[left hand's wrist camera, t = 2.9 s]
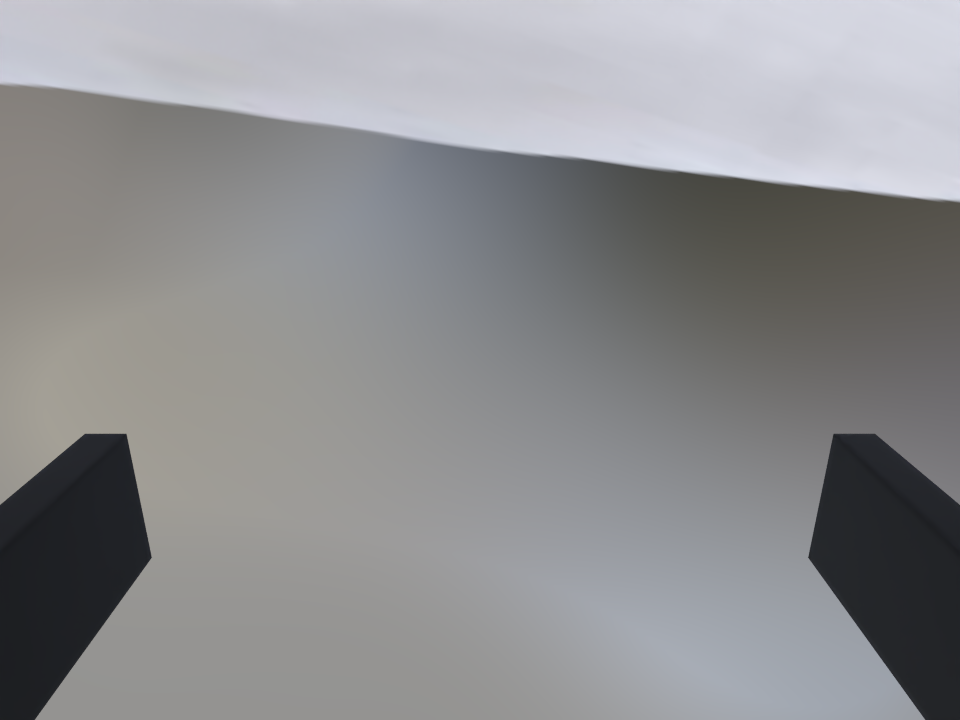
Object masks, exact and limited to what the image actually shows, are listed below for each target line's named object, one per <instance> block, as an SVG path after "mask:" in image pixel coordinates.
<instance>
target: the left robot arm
mask: <svg viewBox="0 0 960 720" xmlns="http://www.w3.org/2000/svg"><path fill="white" fill-rule="evenodd" d="M151 558H152V557H151V552H150V547H149V542H148V537H147V532H146V528H145V523H144V518H143V513H142V508H141V503H140V498H139V493H138V488H137V484H136V479H135V474H134V469H133V464H132V459H131V454H130V449H129V444H128V439H127V435H126V434H84V435H83V436H82V437H81V438H80V439H78V440H77V441H76V442H75V443H74V444H72V445H71V446H70V447H69V448H68V449H66V450H65V451H64V452H63V453H62V454H60V455H59V456H58V457H57V458H56V459H55V460H53V461H52V462H51V463H50V464H49V465H47V466H46V467H45V468H44V469H43V470H41V471H40V472H39V473H38V474H37V475H35V476H34V477H33V478H32V479H31V480H30V481H28V482H27V483H26V484H25V485H24V486H22V487H21V488H20V489H19V490H18V491H16V492H15V493H14V494H13V495H12V496H10V497H9V498H8V499H7V500H6V501H4V502H3V503H2V504H1V505H0V720H35V719H36V717H37V716H38V714H39V713H40V712H41V710H42V709H43V707H44V706H45V705H46V703H47V702H48V700H49V699H50V698H51V696H52V695H53V694H54V692H55V691H56V689H57V688H58V687H59V685H60V684H61V683H62V681H63V680H64V678H65V677H66V676H67V674H68V673H69V671H70V670H71V669H72V667H73V666H74V665H75V663H76V662H77V660H78V659H79V658H80V656H81V655H82V653H83V652H84V651H85V649H86V648H87V647H88V645H89V644H90V642H91V641H92V640H93V638H94V637H95V635H96V634H97V633H98V631H99V630H100V629H101V627H102V626H103V624H104V623H105V622H106V620H107V619H108V617H109V616H110V615H111V613H112V612H113V611H114V609H115V608H116V606H117V605H118V604H119V602H120V601H121V599H122V598H123V597H124V595H125V594H126V592H127V591H128V590H129V588H130V587H131V586H132V584H133V583H134V581H135V580H136V579H137V577H138V576H139V574H140V573H141V572H142V570H143V569H144V568H145V566H146V565H147V563H148V562H149V561H150V559H151ZM808 558H809V559H810V561H811V562H812V563H813V565H814V566H815V568H816V569H817V570H818V572H819V573H820V574H821V576H822V577H823V579H824V580H825V581H826V583H827V584H828V586H829V587H830V588H831V590H832V591H833V592H834V594H835V595H836V597H837V598H838V599H839V601H840V602H841V604H842V605H843V606H844V608H845V609H846V610H847V612H848V613H849V615H850V616H851V617H852V619H853V620H854V622H855V623H856V624H857V626H858V627H859V628H860V630H861V631H862V633H863V634H864V635H865V637H866V638H867V640H868V641H869V642H870V644H871V645H872V646H873V648H874V649H875V651H876V652H877V653H878V655H879V656H880V658H881V659H882V660H883V662H884V663H885V664H886V666H887V667H888V669H889V670H890V671H891V673H892V674H893V676H894V677H895V678H896V680H897V681H898V683H899V684H900V685H901V687H902V688H903V689H904V691H905V692H906V694H907V695H908V696H909V698H910V699H911V701H912V702H913V703H914V705H915V706H916V707H917V709H918V710H919V712H920V713H921V714H922V716H923V717H924V718H925V720H960V505H959V504H958V503H957V502H955V501H954V500H953V499H952V498H951V497H950V496H948V495H947V494H946V493H945V492H944V491H942V490H941V489H940V488H939V487H938V486H936V485H935V484H934V483H933V482H932V481H930V480H929V479H928V478H927V477H926V476H924V475H923V474H922V473H921V472H920V471H919V470H917V469H916V468H915V467H914V466H913V465H911V464H910V463H909V462H908V461H907V460H905V459H904V458H903V457H902V456H901V455H900V454H898V453H897V452H896V451H895V450H894V449H892V448H891V447H890V446H889V445H888V444H886V443H885V442H884V441H883V440H882V439H880V438H879V437H878V436H877V435H876V434H834V435H833V440H832V444H831V449H830V454H829V459H828V464H827V469H826V474H825V479H824V484H823V488H822V493H821V498H820V503H819V508H818V513H817V518H816V523H815V528H814V532H813V537H812V542H811V547H810V552H809V557H808Z"/></svg>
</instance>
